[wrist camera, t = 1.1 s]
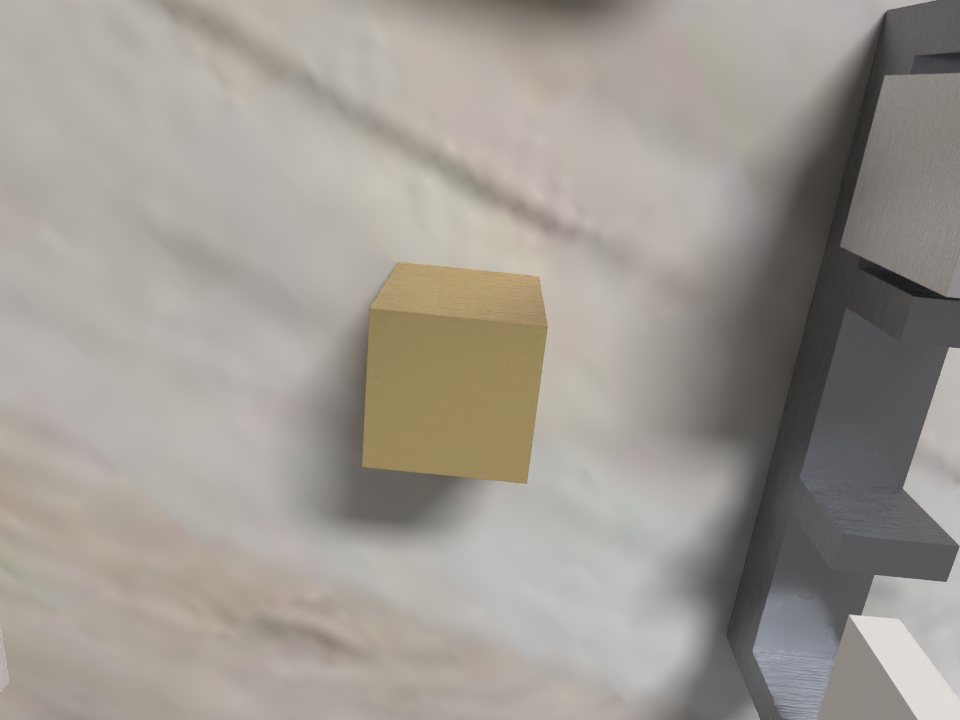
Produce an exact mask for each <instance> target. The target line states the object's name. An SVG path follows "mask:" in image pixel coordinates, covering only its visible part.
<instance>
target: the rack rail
mask: <svg viewBox="0 0 960 720" xmlns="http://www.w3.org/2000/svg"><path fill="white" fill-rule="evenodd" d="M946 73H960V0H936V1H931V2H926V3H921V4H916V5H911V6H906V7H901V8H896V9H891V10H887V12H886V16H885V20H884V24H883V28H882V32H881V35H880V39H879V43H878V47H877V51H876V55H875V59H874V63H873V67H872V71H871V75H870V78H869V82H868V86H867V90H866V94H865V98H864V102H863V106H862V110H861V114H860V118H859V121H858V125H857V129H856V133H855V137H854V141H853V145H852V149H851V153H850V157H849V161H848V164H847V168H846V172H845V176H844V180H843V184H842V188H841V192H840V196H839V200H838V204H837V208H836V211H835V215H834V219H833V223H832V227H831V231H830V235H829V239H828V243H827V247H826V251H825V254H824V258H823V262H822V266H821V270H820V274H819V278H818V282H817V286H816V290H815V294H814V297H813V301H812V305H811V309H810V313H809V317H808V321H807V325H806V329H805V333H804V337H803V340H802V344H801V348H800V352H799V356H798V360H797V364H796V368H795V372H794V376H793V380H792V383H791V387H790V391H789V395H788V399H787V403H786V407H785V411H784V415H783V419H782V423H781V426H780V430H779V434H778V438H777V442H776V446H775V450H774V454H773V458H772V462H771V466H770V469H769V473H768V477H767V481H766V485H765V489H764V493H763V497H762V501H761V505H760V509H759V512H758V516H757V520H756V524H755V528H754V532H753V536H752V540H751V544H750V548H749V552H748V555H747V559H746V563H745V567H744V571H743V575H742V579H741V583H740V587H739V591H738V595H737V598H736V602H735V606H734V610H733V614H732V618H731V622H730V626H729V630H728V634H727V638H728V640H729V643H730V645H731V648H732V650H733V653H734V655H735V658H736V660H737V663H738V665H739V668H740V670H741V673H742V675H743V678H744V680H745V682H746V685H747V687H748V690H749V692H750V695H751V697H752V700H753V702H754V705H755V707H756V710H757V712H758V715H759V717H760V720H817V717H818V714H819V710H820V707H821V704H822V701H823V697H824V694H825V691H826V688H827V684H828V681H829V678H830V675H831V671H832V668H833V665H834V662H835V658H836V655H837V652H838V649H839V645H840V642H841V639H842V636H843V632H844V629H845V626H846V623H847V619H848V616H849V615H859V616H861V614H862V611H863V608H864V605H865V602H866V599H867V596H868V593H869V590H870V587H871V584H872V580H873V577H874V575H883V576H893V577H903V578H913V579H923V580H933V581H943V582H947V579H948V577H949V574H950V571H951V568H952V566H953V563H954V560H955V557H956V555H957V552H958V549H959V547H960V546H959V545H958V544H957V543H956V542H955V541H954V540H953V539H952V538H951V537H950V536H949V535H948V534H947V533H946V532H945V531H944V530H943V529H942V528H941V527H940V526H939V525H938V524H937V523H936V522H935V521H934V520H933V519H932V518H931V517H930V516H929V515H928V514H927V513H926V512H925V511H924V510H923V509H922V508H921V507H920V506H919V505H918V504H917V503H916V502H915V501H914V500H913V499H912V498H911V497H910V496H909V495H908V494H907V493H906V492H905V491H904V490H903V486H904V483H905V480H906V477H907V473H908V470H909V467H910V464H911V461H912V458H913V455H914V452H915V449H916V446H917V443H918V440H919V437H920V434H921V431H922V428H923V425H924V421H925V418H926V415H927V412H928V409H929V406H930V403H931V400H932V397H933V394H934V391H935V388H936V385H937V382H938V379H939V376H940V373H941V370H942V366H943V363H944V360H945V357H946V354H947V351H948V348H949V347H954V348H960V298H952V297H945V296H943V295H941V294H939V293H937V292H935V291H933V290H931V289H929V288H926V287H924V286H922V285H920V284H918V283H916V282H914V281H912V280H910V279H907V278H905V277H903V276H901V275H899V274H897V273H895V272H893V271H891V270H888V269H886V268H884V267H882V266H880V265H878V264H876V263H874V262H872V261H869V260H867V259H865V258H863V257H861V256H859V255H857V254H855V253H853V252H850V251H848V250H846V249H844V248H842V247H840V244H841V241H842V237H843V233H844V229H845V225H846V222H847V218H848V214H849V210H850V206H851V202H852V199H853V195H854V191H855V187H856V183H857V180H858V176H859V172H860V168H861V164H862V160H863V157H864V153H865V149H866V145H867V141H868V138H869V134H870V130H871V126H872V122H873V118H874V115H875V111H876V107H877V103H878V99H879V96H880V92H881V88H882V84H883V80H884V76H885V75H915V74H946Z"/></svg>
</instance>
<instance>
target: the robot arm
mask: <svg viewBox="0 0 960 720" xmlns="http://www.w3.org/2000/svg"><path fill="white" fill-rule="evenodd" d="M9 681H10V680H9V674H8V668H7V662H6V656H5V650H4V643H3V637H2V631H1V625H0V692H1V691H2V690H3V689H4V687H5V686H6V685H7V684H8V683H9ZM817 720H960V700H959V699H958V697H957V696H956V695H955V693H954V692H953V691H952V689H951V688H950V687H949V685H948V684H947V683H946V681H945V680H944V679H943V677H942V676H941V675H940V673H939V672H938V671H937V669H936V668H935V667H934V665H933V664H932V663H931V661H930V660H929V659H928V657H927V656H926V654H925V653H924V652H923V650H922V649H921V648H920V646H919V645H918V644H917V642H916V641H915V640H914V638H913V637H912V636H911V634H910V633H909V632H908V630H907V629H906V628H905V626H904V625H903V624H902V622H901V621H900V620H899V619H892V618H881V617H870V616H859V615H849V616H848V619H847V623H846V626H845V629H844V632H843V636H842V639H841V642H840V645H839V649H838V652H837V655H836V658H835V662H834V665H833V668H832V671H831V675H830V678H829V681H828V684H827V688H826V691H825V694H824V697H823V701H822V704H821V707H820V710H819V714H818V717H817Z"/></svg>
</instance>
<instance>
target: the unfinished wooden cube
mask: <svg viewBox="0 0 960 720" xmlns="http://www.w3.org/2000/svg"><path fill="white" fill-rule="evenodd" d="M547 328H548V325H547V320H546V314H545V308H544V303H543V297H542V291H541V286H540V280H539V276H530V275H520V274H511V273H501V272H491V271H481V270H471V269H461V268H451V267H441V266H432V265H422V264H412V263H402V262H398V263H397V265H396V266H395V268H394V270H393V271H392V273H391V274H390V276H389V278H388V279H387V281H386V283H385V284H384V286H383V287H382V289H381V291H380V292H379V294H378V295H377V297H376V299H375V300H374V302H373V303H372V305H371V307H370V310H369V331H368V352H367V373H366V394H365V415H364V435H363V456H362V467H366V468H376V469H386V470H396V471H406V472H416V473H426V474H436V475H446V476H456V477H466V478H475V479H485V480H495V481H505V482H515V483H525V484H527V478H528V471H529V463H530V456H531V448H532V441H533V433H534V426H535V418H536V411H537V403H538V395H539V388H540V380H541V373H542V365H543V358H544V350H545V343H546V335H547Z"/></svg>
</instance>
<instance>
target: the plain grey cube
mask: <svg viewBox="0 0 960 720" xmlns="http://www.w3.org/2000/svg"><path fill="white" fill-rule="evenodd" d="M840 247H842V248H844V249H846V250H848V251H850V252H853V253H855V254H857V255H859V256H861V257H863V258H865V259H867V260H869V261H872V262H874V263H876V264H878V265H880V266H882V267H884V268H886V269H888V270H891V271H893V272H895V273H897V274H899V275H901V276H903V277H905V278H907V279H910V280H912V281H914V282H916V283H918V284H920V285H922V286H924V287H926V288H929V289H931V290H933V291H935V292H937V293H939V294H941V295H943V296H945V297H952V298H960V73H946V74H915V75H885V76H884V80H883V84H882V88H881V92H880V96H879V99H878V103H877V107H876V111H875V115H874V118H873V122H872V126H871V130H870V134H869V138H868V141H867V145H866V149H865V153H864V157H863V160H862V164H861V168H860V172H859V176H858V180H857V183H856V187H855V191H854V195H853V199H852V202H851V206H850V210H849V214H848V218H847V222H846V225H845V229H844V233H843V237H842V241H841V244H840Z"/></svg>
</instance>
